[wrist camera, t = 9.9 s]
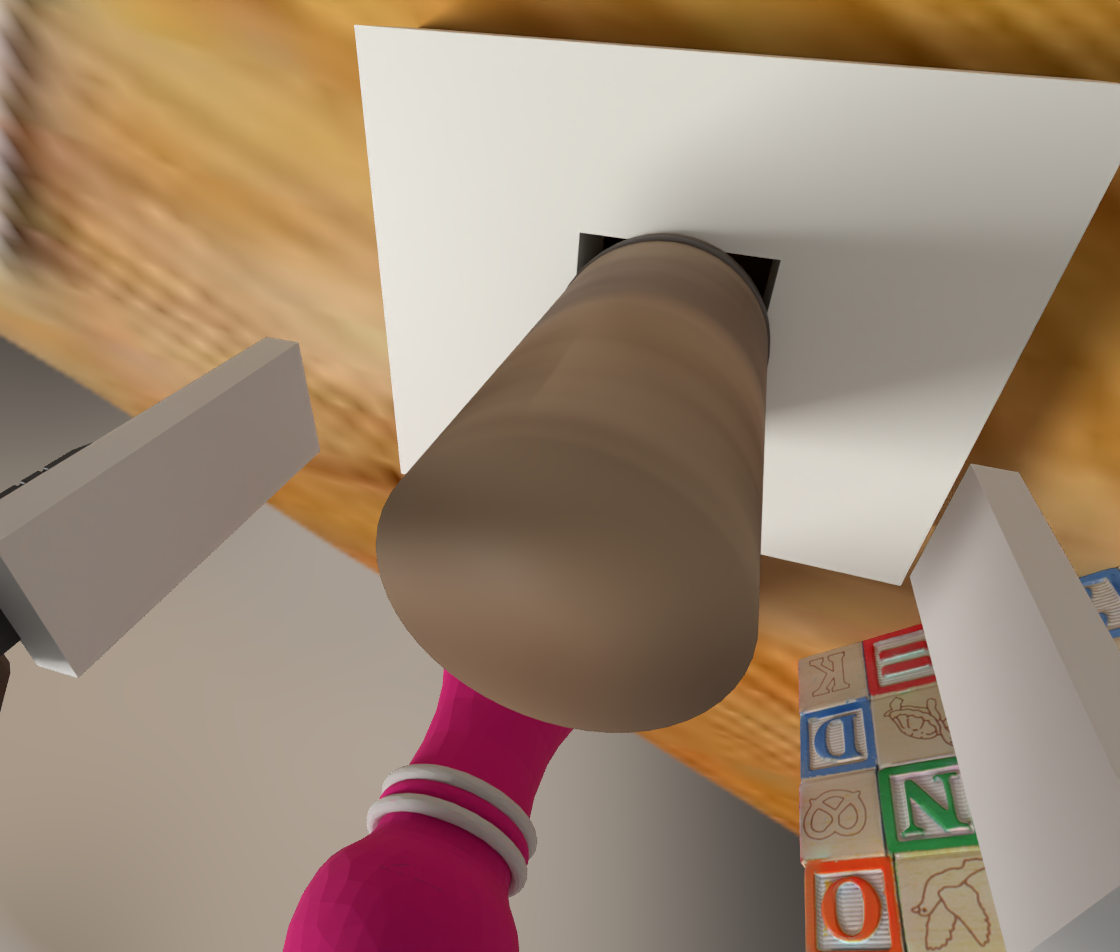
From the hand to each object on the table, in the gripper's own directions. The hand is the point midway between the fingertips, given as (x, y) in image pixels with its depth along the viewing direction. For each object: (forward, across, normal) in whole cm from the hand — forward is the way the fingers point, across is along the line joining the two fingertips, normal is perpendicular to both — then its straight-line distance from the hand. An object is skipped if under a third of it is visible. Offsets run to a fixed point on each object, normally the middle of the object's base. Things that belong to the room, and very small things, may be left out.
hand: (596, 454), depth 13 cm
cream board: (+10, 0, 0) cm, 11 cm away
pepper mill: (+11, -2, -13) cm, 17 cm away
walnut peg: (+10, 0, 0) cm, 10 cm away
